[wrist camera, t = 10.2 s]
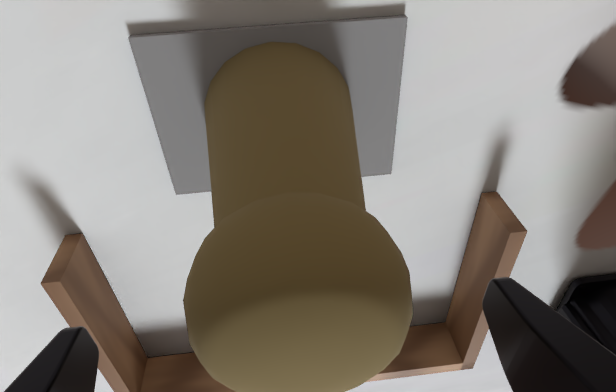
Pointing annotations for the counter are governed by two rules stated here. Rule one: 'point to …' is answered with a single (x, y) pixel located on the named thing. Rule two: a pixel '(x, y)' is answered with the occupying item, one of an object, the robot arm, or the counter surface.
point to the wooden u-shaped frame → (203, 388)
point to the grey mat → (230, 41)
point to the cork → (291, 235)
